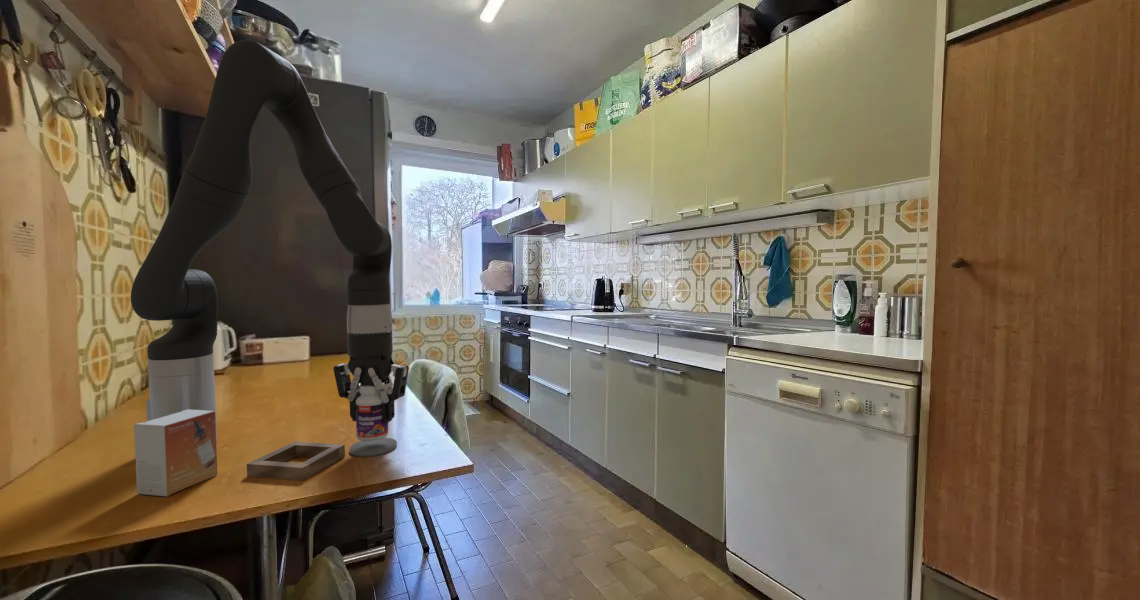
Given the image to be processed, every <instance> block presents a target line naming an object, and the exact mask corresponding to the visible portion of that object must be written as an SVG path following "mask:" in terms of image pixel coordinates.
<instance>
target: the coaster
mask: <svg viewBox="0 0 1140 600" xmlns="http://www.w3.org/2000/svg"><path fill="white" fill-rule="evenodd" d="M397 446H398V442H397V440H396V439H394V438H391V437H385V438H382V439H379V440H375V441H361V440H358V441H357V442H355V443H353V444H351V446H349V454H350V455H351V456H353V457H354V456H355V457H360V458H365V457H375V456H376V455H377V456H381V455H385V454H388V453H391V452H392V451H393V449H394V450H395V449H396V448H397ZM387 452H388V453H387ZM384 453H385V454H384Z"/></svg>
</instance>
